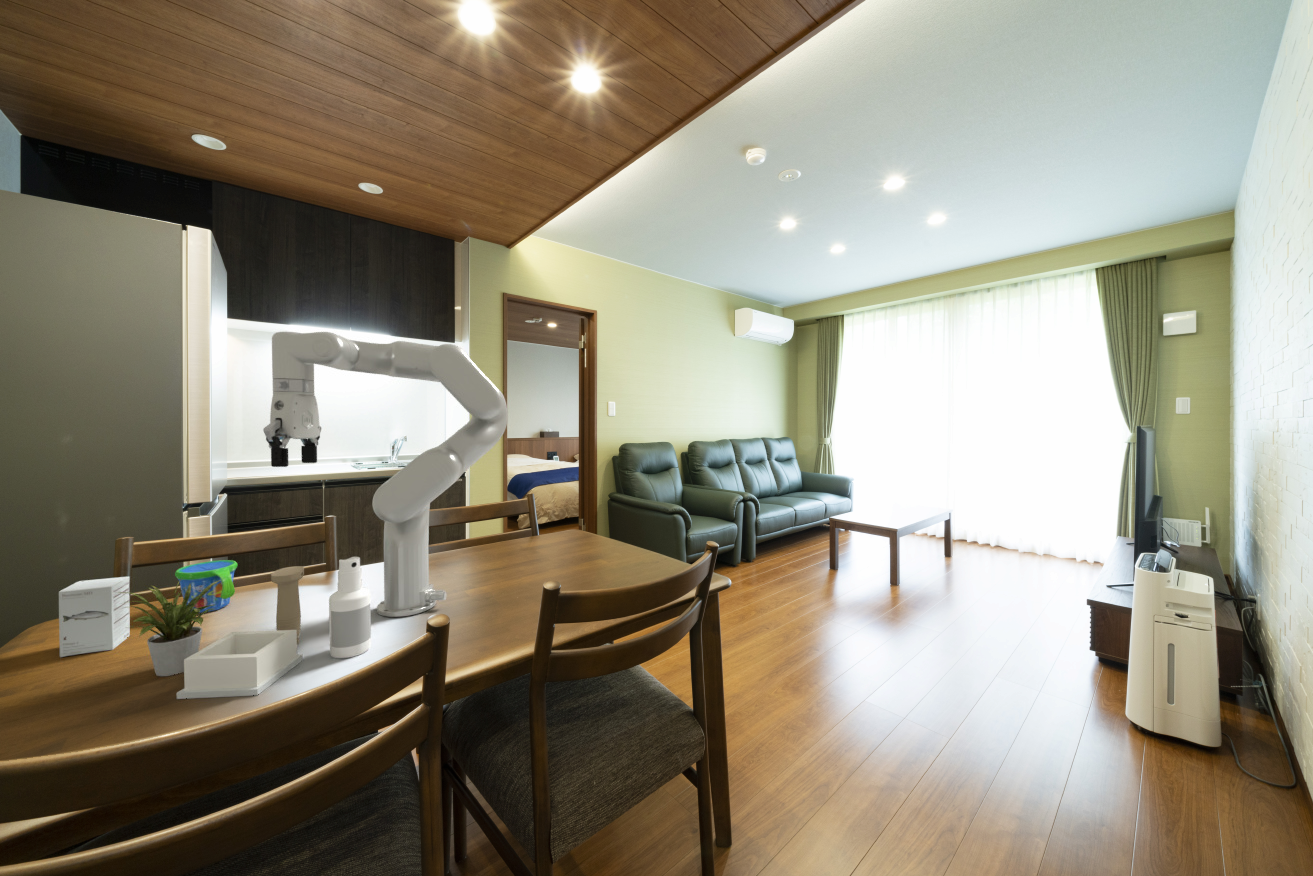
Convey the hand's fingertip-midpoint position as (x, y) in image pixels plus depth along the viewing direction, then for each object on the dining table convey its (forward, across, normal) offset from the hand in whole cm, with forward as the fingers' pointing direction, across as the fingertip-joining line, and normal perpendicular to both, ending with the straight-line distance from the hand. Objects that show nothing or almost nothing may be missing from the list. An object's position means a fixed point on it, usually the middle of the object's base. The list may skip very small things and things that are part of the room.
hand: (295, 464), depth 110 cm
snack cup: (+35, +6, +24) cm, 43 cm away
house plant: (+35, -24, +7) cm, 43 cm away
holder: (+35, -27, -9) cm, 45 cm away
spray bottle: (+35, -18, -21) cm, 44 cm away
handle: (+35, -15, -8) cm, 39 cm away
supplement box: (+35, -14, +29) cm, 47 cm away
